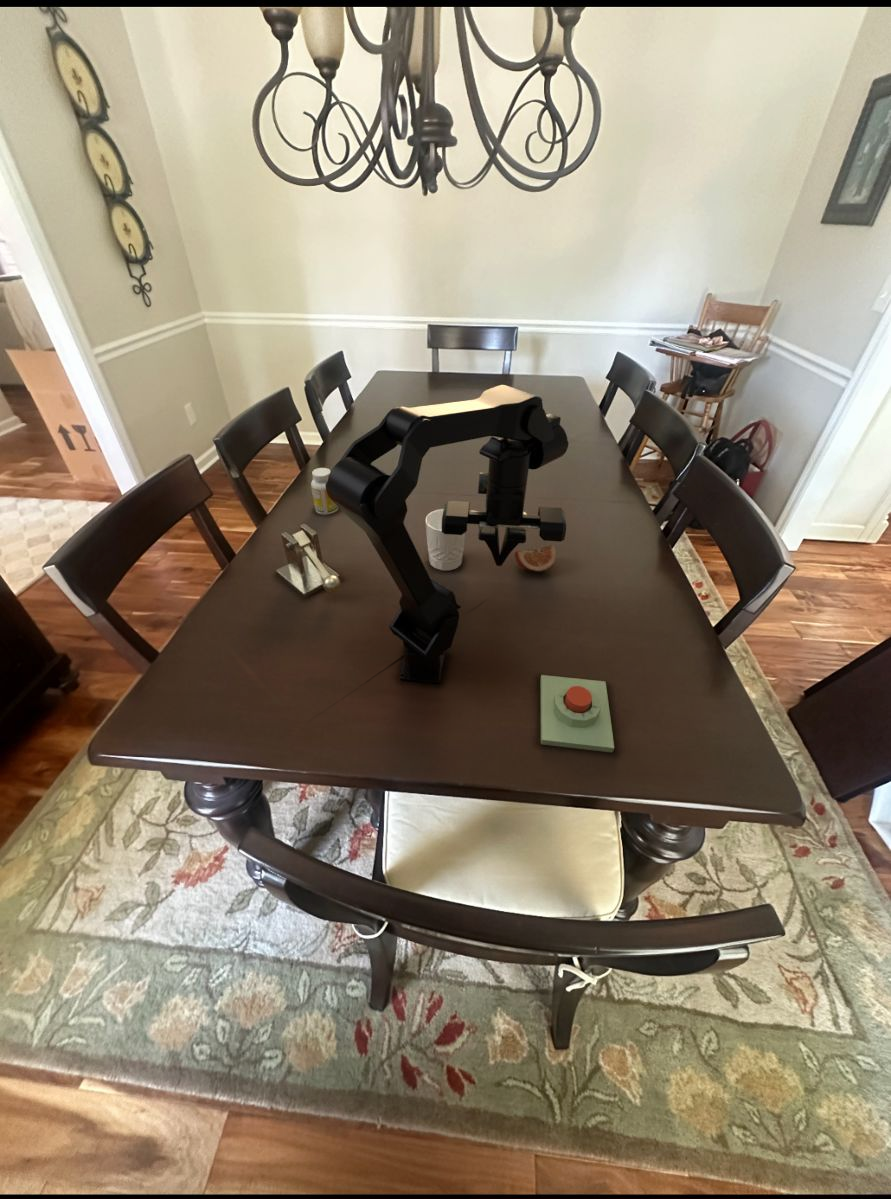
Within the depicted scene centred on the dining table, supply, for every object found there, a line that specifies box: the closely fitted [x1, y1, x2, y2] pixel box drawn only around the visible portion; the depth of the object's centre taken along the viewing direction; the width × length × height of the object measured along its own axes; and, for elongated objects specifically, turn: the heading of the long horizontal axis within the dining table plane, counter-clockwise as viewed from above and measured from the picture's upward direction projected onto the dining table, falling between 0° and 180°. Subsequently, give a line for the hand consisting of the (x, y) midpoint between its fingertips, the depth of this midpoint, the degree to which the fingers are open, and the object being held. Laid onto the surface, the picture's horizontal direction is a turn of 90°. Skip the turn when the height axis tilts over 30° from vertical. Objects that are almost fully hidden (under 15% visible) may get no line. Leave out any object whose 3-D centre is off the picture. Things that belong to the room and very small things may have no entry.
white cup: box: [425, 508, 466, 572], centre depth 102 cm, size 8×8×10 cm
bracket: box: [276, 523, 341, 598], centre depth 98 cm, size 10×8×10 cm
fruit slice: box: [514, 544, 558, 573], centre depth 102 cm, size 8×7×5 cm
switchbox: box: [539, 674, 615, 753], centre depth 76 cm, size 12×10×3 cm
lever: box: [291, 530, 342, 594], centre depth 95 cm, size 13×3×3 cm
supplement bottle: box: [310, 467, 339, 516], centre depth 117 cm, size 5×5×10 cm
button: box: [565, 686, 592, 713], centre depth 75 cm, size 4×4×2 cm
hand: (498, 564), depth 85 cm, fingers closed
